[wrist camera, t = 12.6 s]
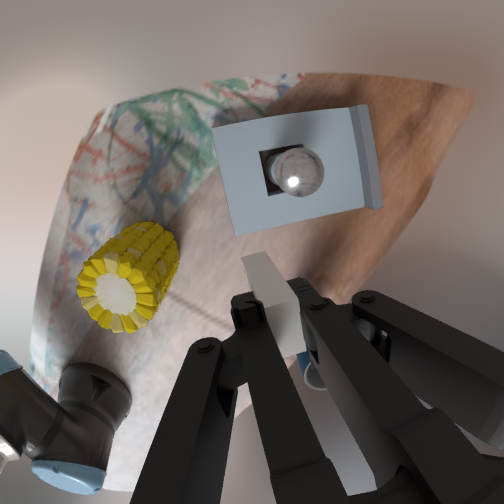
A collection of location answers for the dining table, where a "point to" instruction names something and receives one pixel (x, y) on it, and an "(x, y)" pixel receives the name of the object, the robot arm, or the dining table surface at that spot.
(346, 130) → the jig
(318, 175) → the silver metal cylinder
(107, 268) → the food
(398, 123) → the dining table surface
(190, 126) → the dining table surface
